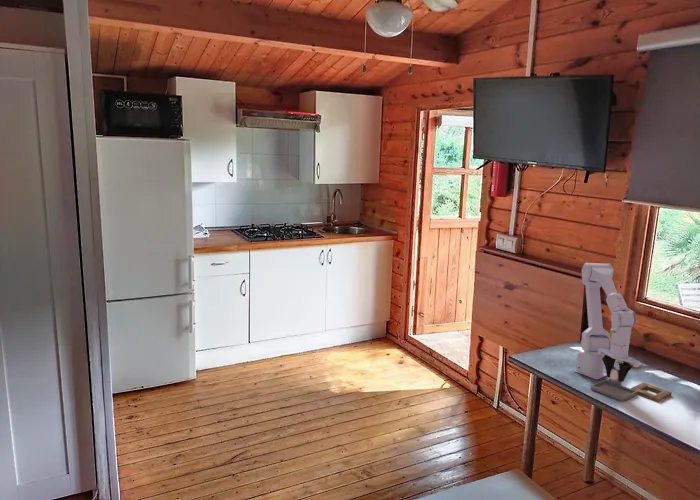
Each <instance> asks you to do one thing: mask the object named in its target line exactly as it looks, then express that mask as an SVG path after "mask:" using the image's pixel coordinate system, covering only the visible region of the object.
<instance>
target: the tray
mask: <svg viewBox="0 0 700 500" xmlns="http://www.w3.org/2000/svg"><path fill="white" fill-rule="evenodd" d="M630 388H631V387H630ZM630 388H629V387H627V386H624V385H622V384H621V386H620V387H616V386H612V385H610V384H609V380H608V379H603V380H601V381H597V382H595V383H593V384H591V385H590V390H591V389H592V390H591V391H594V390H595V391H594V392H596V391H597V393H599V392H600V393H599V394H601V393H602V394H601V395H604V394H605V395H604V396H606V395H607V397H609V396H610V397H609V398H611V397H612V399H614V398H615V399H614V400H617V399H618V400H617V401H619V400H620V402H621V403H624V402H627V401H628V400H630V399H633V398H634V397H637V396H638V394H637V391H635V390H632V389H630Z"/></svg>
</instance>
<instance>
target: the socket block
mask: <svg viewBox="0 0 700 500" xmlns="http://www.w3.org/2000/svg"><path fill="white" fill-rule="evenodd" d="M630 389H632V390H635V391H637V396H640V397H644V398H647V399H649V400H651V401H654V402H657V403H660V402H662V401H664V400H665V399H667V398H669V397H671V396H672V393H673V392H671V391H670V390H666V389H664V388H660V387H658V386H654V385H652V384H650V383H646V382H644V381H643V382H641V383H638V384H637V385H635V386H632V387H630ZM645 390H648V391H651V392H654V393H656V394H654V393H651V392H648V391H645Z"/></svg>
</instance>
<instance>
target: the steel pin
mask: <svg viewBox="0 0 700 500" xmlns="http://www.w3.org/2000/svg"><path fill="white" fill-rule="evenodd" d="M619 374H620V368H619V366H614V367H611V370H610V377H608V378H609V380H608V381H609V384H610V385H612V386H616V387H620V386H621V385H622V382H619Z"/></svg>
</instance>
